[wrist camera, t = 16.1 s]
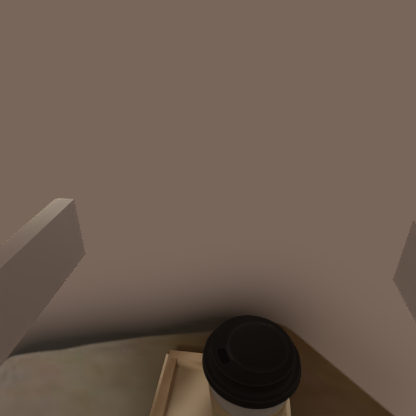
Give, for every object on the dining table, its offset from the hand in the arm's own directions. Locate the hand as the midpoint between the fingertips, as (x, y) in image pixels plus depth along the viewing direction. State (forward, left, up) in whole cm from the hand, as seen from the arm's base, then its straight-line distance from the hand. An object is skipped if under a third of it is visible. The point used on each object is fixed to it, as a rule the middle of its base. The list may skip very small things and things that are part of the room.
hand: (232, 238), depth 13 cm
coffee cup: (-2, -11, -34) cm, 36 cm away
